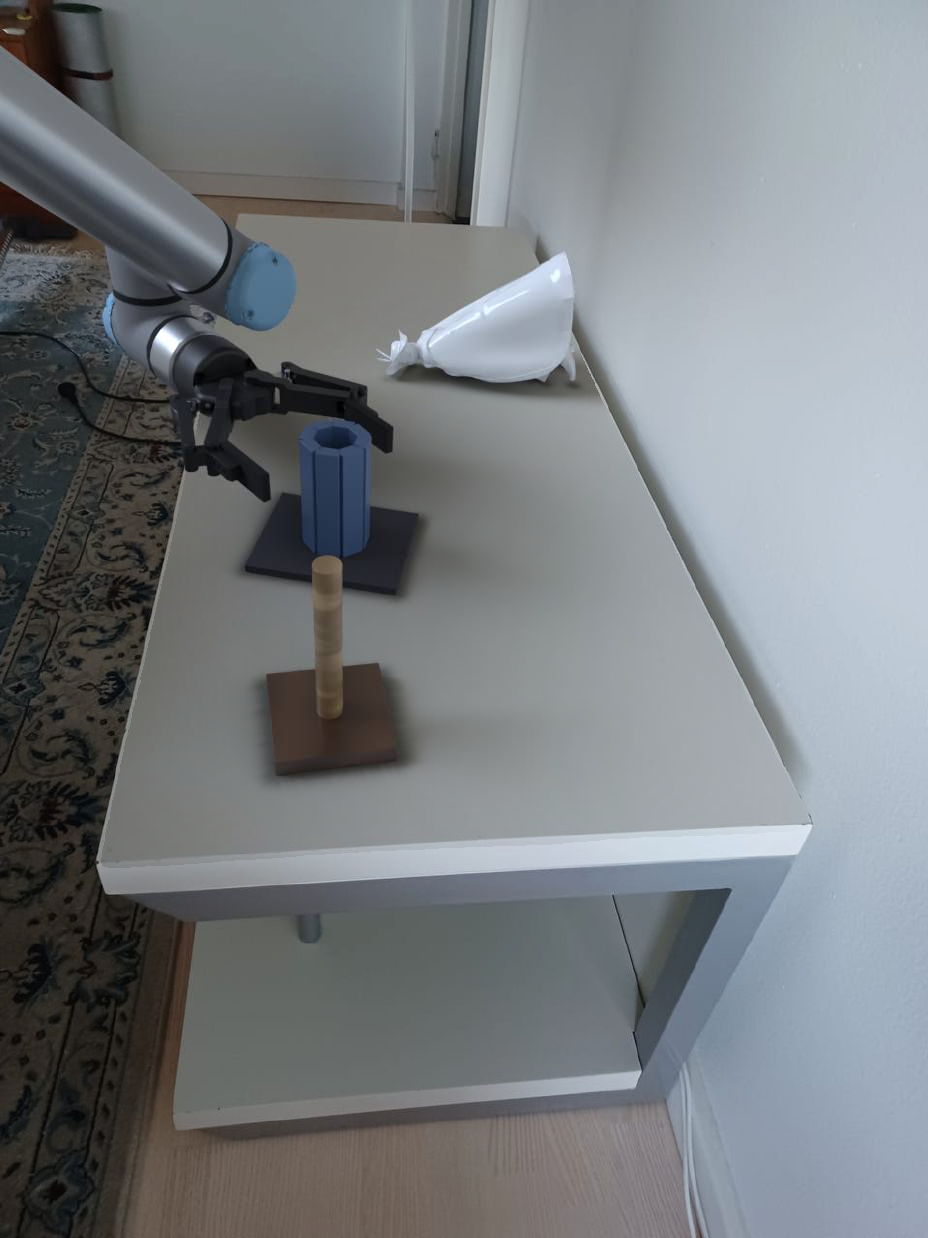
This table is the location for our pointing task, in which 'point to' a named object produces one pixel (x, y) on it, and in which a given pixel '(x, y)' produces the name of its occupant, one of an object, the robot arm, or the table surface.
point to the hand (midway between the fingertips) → (331, 463)
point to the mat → (363, 570)
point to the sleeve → (335, 487)
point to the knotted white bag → (503, 331)
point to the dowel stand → (329, 695)
